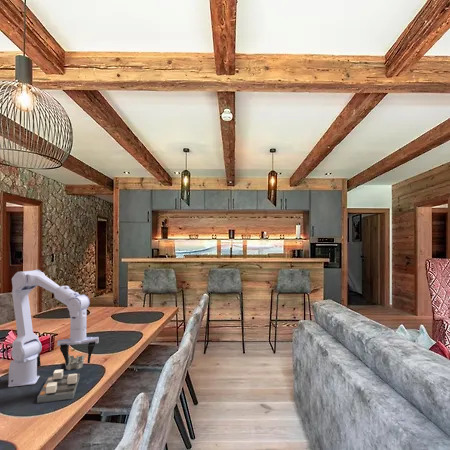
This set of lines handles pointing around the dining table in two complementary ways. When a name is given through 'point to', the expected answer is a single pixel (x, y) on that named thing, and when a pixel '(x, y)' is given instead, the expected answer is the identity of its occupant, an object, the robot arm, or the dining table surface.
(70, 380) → the cream small block
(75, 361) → the egg carton
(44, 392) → the switch unit
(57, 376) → the white small block
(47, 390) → the cream small block
